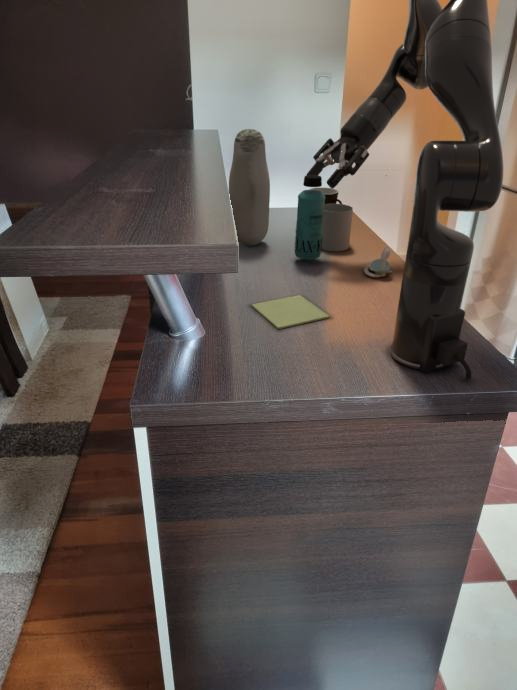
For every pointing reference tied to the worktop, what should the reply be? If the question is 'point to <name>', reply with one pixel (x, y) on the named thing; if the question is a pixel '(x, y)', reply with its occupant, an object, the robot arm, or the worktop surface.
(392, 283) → the worktop surface
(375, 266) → the pacifier
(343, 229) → the cup
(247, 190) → the grey rounded tall figure
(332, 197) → the coffee mug
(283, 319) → the pad
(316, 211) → the beverage bottle
